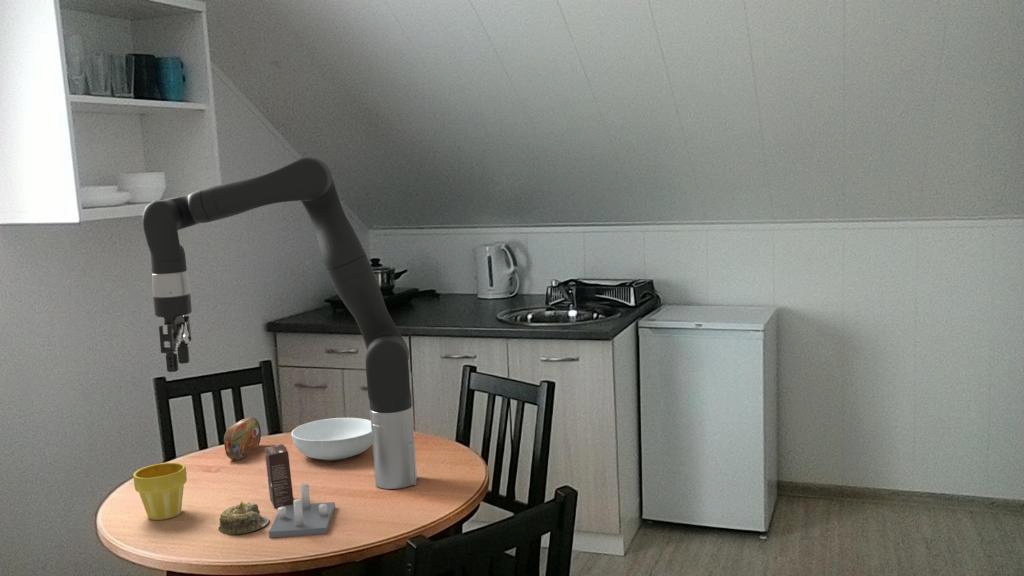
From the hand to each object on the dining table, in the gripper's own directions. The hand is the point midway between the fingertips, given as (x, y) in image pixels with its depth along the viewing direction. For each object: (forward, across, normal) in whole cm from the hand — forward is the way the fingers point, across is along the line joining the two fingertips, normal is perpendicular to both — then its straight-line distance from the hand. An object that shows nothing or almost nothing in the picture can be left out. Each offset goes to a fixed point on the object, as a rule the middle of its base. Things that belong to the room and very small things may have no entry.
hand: (178, 367), depth 202 cm
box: (+30, -8, -21) cm, 37 cm away
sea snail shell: (+30, -19, -16) cm, 39 cm away
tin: (+30, +30, -5) cm, 43 cm away
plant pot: (+30, -10, +3) cm, 31 cm away
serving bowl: (+30, +24, -29) cm, 48 cm away
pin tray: (+29, -20, -28) cm, 45 cm away
